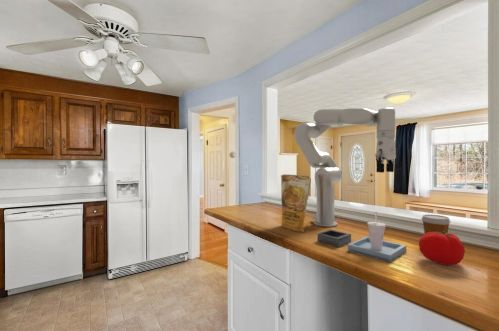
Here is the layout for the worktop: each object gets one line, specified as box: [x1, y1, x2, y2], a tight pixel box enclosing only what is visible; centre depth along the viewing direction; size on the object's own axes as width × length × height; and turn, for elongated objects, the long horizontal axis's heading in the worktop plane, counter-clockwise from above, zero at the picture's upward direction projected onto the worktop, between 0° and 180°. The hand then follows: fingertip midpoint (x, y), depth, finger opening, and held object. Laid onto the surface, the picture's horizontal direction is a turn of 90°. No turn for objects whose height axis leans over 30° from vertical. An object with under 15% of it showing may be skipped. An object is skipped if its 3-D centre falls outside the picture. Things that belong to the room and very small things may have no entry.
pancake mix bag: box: [280, 174, 312, 233], centre depth 131 cm, size 7×19×28 cm, turn 35°
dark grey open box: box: [316, 228, 352, 248], centre depth 108 cm, size 10×10×4 cm
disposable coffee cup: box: [420, 214, 452, 234], centre depth 102 cm, size 10×10×12 cm
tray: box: [347, 236, 407, 263], centre depth 96 cm, size 15×15×2 cm
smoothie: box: [366, 211, 387, 250], centre depth 96 cm, size 6×6×14 cm
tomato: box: [418, 231, 466, 266], centre depth 86 cm, size 13×12×11 cm
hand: (385, 172), depth 116 cm, fingers open, 9 cm apart
